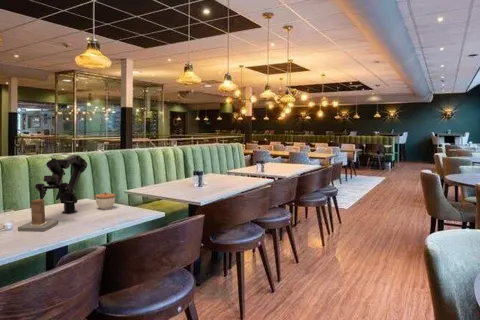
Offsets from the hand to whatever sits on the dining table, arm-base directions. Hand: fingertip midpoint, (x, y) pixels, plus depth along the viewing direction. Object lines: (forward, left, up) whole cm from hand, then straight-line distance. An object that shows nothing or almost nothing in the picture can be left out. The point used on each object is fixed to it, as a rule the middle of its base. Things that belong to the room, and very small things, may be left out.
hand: (48, 200), depth 199 cm
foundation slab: (+3, -8, -13) cm, 16 cm away
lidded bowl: (-2, +41, -14) cm, 44 cm away
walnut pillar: (+3, -8, -11) cm, 14 cm away
